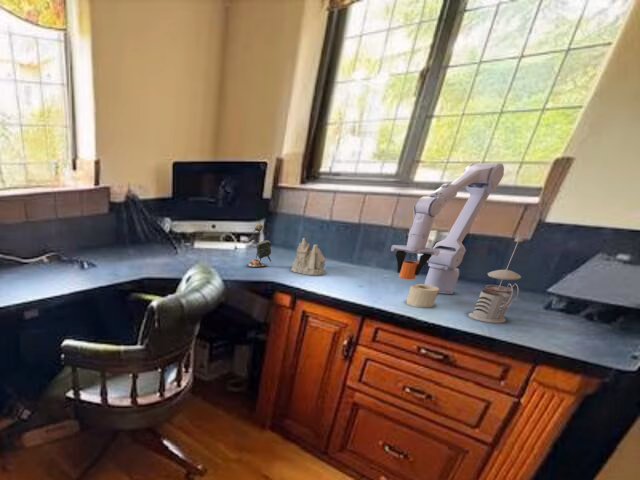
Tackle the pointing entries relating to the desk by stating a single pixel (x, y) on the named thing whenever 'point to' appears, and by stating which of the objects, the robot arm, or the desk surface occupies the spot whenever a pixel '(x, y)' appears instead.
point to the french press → (496, 296)
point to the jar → (422, 295)
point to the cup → (408, 269)
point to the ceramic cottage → (308, 260)
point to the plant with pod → (261, 249)
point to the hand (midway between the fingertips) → (407, 273)
